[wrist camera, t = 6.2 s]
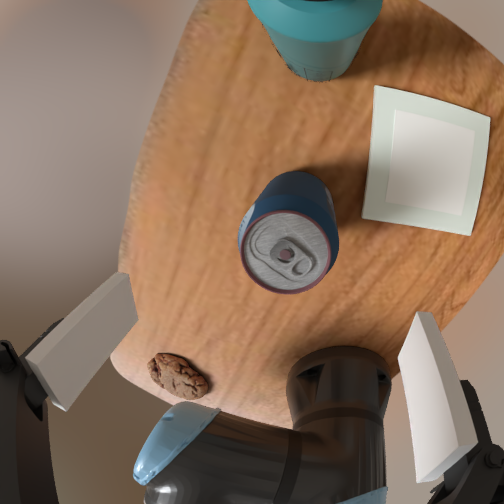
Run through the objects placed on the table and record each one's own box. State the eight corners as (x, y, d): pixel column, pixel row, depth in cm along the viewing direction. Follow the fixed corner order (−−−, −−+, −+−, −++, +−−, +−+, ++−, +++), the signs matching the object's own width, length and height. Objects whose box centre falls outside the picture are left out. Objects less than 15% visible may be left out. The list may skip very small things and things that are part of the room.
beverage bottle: (365, 53, 21) (445, -53, 3) (323, 100, 24) (339, 47, 6) (309, 13, 20) (285, -128, 2) (267, 59, 23) (169, -38, 5)
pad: (467, 233, 26) (470, 236, 25) (361, 215, 28) (362, 218, 27) (486, 117, 20) (490, 117, 19) (374, 86, 22) (375, 85, 21)
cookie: (203, 399, 47) (197, 412, 44) (149, 375, 47) (142, 386, 45) (216, 369, 42) (210, 384, 40) (154, 341, 43) (145, 354, 40)
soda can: (249, 206, 30) (210, 258, 19) (292, 154, 27) (276, 177, 16) (301, 248, 31) (290, 319, 20) (346, 201, 28) (364, 253, 17)
